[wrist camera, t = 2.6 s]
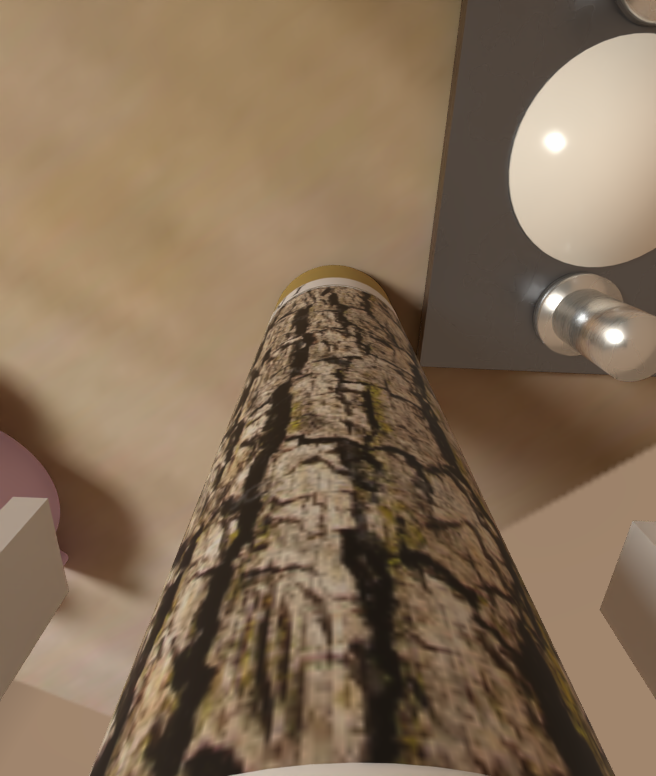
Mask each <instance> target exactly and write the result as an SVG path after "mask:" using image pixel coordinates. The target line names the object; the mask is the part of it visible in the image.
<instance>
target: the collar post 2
mask: <svg viewBox="0 0 656 776" xmlns="http://www.w3.org/2000/svg"><path fill="white" fill-rule="evenodd" d="M615 3H616V5H617V7H618V8H619V10H620V11H621V13H622V14H623V15H624V16H625V17H626V18H627V19H629V20H630V21H632V22H634V23H635V24H638V25H641V26H648V27H649V26H656V0H615Z"/></svg>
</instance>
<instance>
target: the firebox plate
mask: <svg viewBox="0 0 656 776" xmlns="http://www.w3.org/2000/svg"><path fill="white" fill-rule="evenodd" d="M635 33H653V34H656V26H649V27H648V26H641V25H638V24H635V23H634V22H632V21H630V20H629V19H627V18H626V17H625V16H624V15H623V14H622V13H621V11H620V10H619V8H618V7H617V5H616V3H615V0H462V5H461V13H460V20H459V28H458V36H457V44H456V52H455V59H454V67H453V75H452V83H451V90H450V98H449V106H448V114H447V122H446V129H445V137H444V145H443V153H442V161H441V168H440V176H439V184H438V192H437V200H436V207H435V215H434V223H433V231H432V239H431V246H430V254H429V262H428V270H427V278H426V285H425V293H424V301H423V309H422V316H421V324H420V332H419V340H418V348H417V355H416V357H417V359H418V361H419V363H420V365H421V366H425V367H448V368H471V369H494V370H516V371H539V372H562V373H585V374H608V373H606V372H605V371H604V370H602V369H601V368H599V367H598V366H597V365H595V364H594V363H593V362H591V361H590V360H588V359H587V358H586V357H584V356H583V355H578V356H567V355H562V354H559V353H556V352H554V351H553V350H551V349H550V348H549V347H547V346H546V345H545V344H544V343H543V342H542V341H541V340H540V339H539V338H538V336H537V335H536V333H535V330H534V326H533V313H534V308H535V305H536V303H537V301H538V299H539V297H540V295H541V294H542V293H543V291H544V290H545V289H546V288H547V287H548V286H549V285H550V284H552V283H553V282H554V281H556V280H557V279H559V278H561V277H563V276H565V275H568V274H571V273H576V272H589V273H593V274H596V275H599V276H601V277H604V278H606V279H608V280H610V281H611V282H613V283H614V284H615V285H616V286H617V288H618V289H619V291H620V293H621V295H622V298H623V302H624V303H626V304H629V305H631V306H633V307H635V308H638V309H640V310H642V311H644V312H647V313H649V314H651V315H654V316H656V248H655V249H653V250H651V251H649V252H648V253H646V254H644V255H642V256H640V257H637V258H635V259H632V260H630V261H627V262H624V263H620V264H616V265H611V266H605V267H583V266H575V265H572V264H568V263H564V262H562V261H559V260H557V259H555V258H553V257H551V256H549V255H547V254H546V253H544V252H543V251H541V250H540V249H539V248H538V247H537V246H535V245H534V244H533V243H532V242H531V241H530V239H529V238H528V237H527V236H526V235H525V233H524V232H523V230H522V228H521V227H520V225H519V223H518V221H517V219H516V216H515V214H514V212H513V208H512V204H511V200H510V194H509V186H508V169H509V161H510V154H511V150H512V146H513V141H514V138H515V135H516V133H517V130H518V127H519V124H520V122H521V120H522V118H523V116H524V114H525V112H526V110H527V108H528V107H529V105H530V104H531V102H532V100H533V99H534V97H535V96H536V94H537V93H538V92H539V91H540V89H541V88H542V87H543V86H544V84H545V83H546V82H547V81H548V80H549V79H550V78H551V77H552V76H553V75H554V74H555V73H556V72H557V71H558V70H559V69H560V68H561V67H562V66H564V65H565V64H566V63H567V62H568V61H570V60H571V59H572V58H574V57H575V56H577V55H579V54H580V53H582V52H583V51H585V50H587V49H589V48H591V47H593V46H595V45H597V44H599V43H601V42H603V41H606V40H609V39H612V38H615V37H618V36H623V35H629V34H635ZM608 375H609V374H608ZM652 376H654V377H656V373H655V374H653V375H652Z"/></svg>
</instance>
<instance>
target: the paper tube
mask: <svg viewBox="0 0 656 776" xmlns="http://www.w3.org/2000/svg"><path fill="white" fill-rule="evenodd" d="M89 776H615V774H614V772H613V770H612V768H611V766H610V764H609V762H608V760H607V758H606V755H605V753H604V751H603V749H602V747H601V745H600V743H599V741H598V739H597V737H596V734H595V732H594V730H593V728H592V726H591V724H590V722H589V720H588V718H587V715H586V713H585V711H584V709H583V707H582V705H581V703H580V701H579V698H578V696H577V694H576V692H575V690H574V688H573V686H572V684H571V682H570V679H569V677H568V676H567V673H566V671H565V669H564V667H563V665H562V663H561V660H560V658H559V656H558V654H557V652H556V650H555V648H554V646H553V644H552V641H551V639H550V638H549V635H548V633H547V631H546V629H545V627H544V625H543V623H542V620H541V618H540V616H539V614H538V612H537V610H536V608H535V606H534V604H533V601H532V599H531V597H530V595H529V593H528V591H527V589H526V587H525V585H524V583H523V580H522V578H521V576H520V574H519V572H518V570H517V568H516V566H515V563H514V562H513V559H512V557H511V555H510V553H509V551H508V549H507V547H506V544H505V542H504V540H503V538H502V536H501V534H500V532H499V530H498V528H497V525H496V523H495V521H494V519H493V517H492V515H491V513H490V511H489V509H488V507H487V504H486V502H485V500H484V498H483V496H482V494H481V492H480V490H479V488H478V485H477V483H476V481H475V479H474V477H473V475H472V473H471V471H470V469H469V466H468V464H467V462H466V460H465V458H464V456H463V454H462V452H461V450H460V447H459V445H458V443H457V441H456V439H455V437H454V435H453V433H452V431H451V428H450V426H449V424H448V422H447V420H446V418H445V416H444V414H443V412H442V410H441V407H440V405H439V403H438V401H437V399H436V397H435V395H434V393H433V391H432V388H431V386H430V384H429V382H428V380H427V378H426V376H425V374H424V372H423V369H422V367H421V365H420V363H419V361H418V359H417V357H416V355H415V353H414V350H413V348H412V346H411V344H410V342H409V340H408V338H407V336H406V334H405V331H404V329H403V327H402V325H401V323H400V321H399V319H398V317H397V315H396V313H395V311H394V309H393V307H392V305H391V303H390V301H389V299H388V297H387V295H386V293H385V292H384V290H383V289H382V288H381V287H380V285H379V284H378V283H377V282H376V281H375V280H373V279H372V278H371V277H370V276H368V275H366V274H365V273H363V272H361V271H359V270H356V269H354V268H350V267H346V266H340V265H329V266H322V267H318V268H314V269H312V270H309V271H307V272H305V273H303V274H301V275H300V276H299V277H297V278H296V279H295V280H293V281H292V282H291V283H290V284H289V285H288V286H287V288H286V289H285V290H284V292H283V293H282V295H281V297H280V298H279V301H278V303H277V305H276V308H275V310H274V313H273V315H272V317H271V319H270V322H269V324H268V327H267V329H266V332H265V334H264V337H263V339H262V342H261V344H260V347H259V349H258V352H257V354H256V357H255V359H254V362H253V364H252V367H251V369H250V372H249V374H248V377H247V379H246V382H245V384H244V387H243V390H242V392H241V395H240V397H239V400H238V402H237V405H236V407H235V410H234V412H233V415H232V417H231V420H230V422H229V425H228V427H227V430H226V432H225V435H224V437H223V440H222V442H221V445H220V447H219V450H218V452H217V455H216V457H215V460H214V462H213V465H212V467H211V470H210V472H209V475H208V477H207V480H206V482H205V485H204V488H203V490H202V493H201V495H200V498H199V500H198V503H197V505H196V508H195V510H194V513H193V515H192V518H191V520H190V523H189V525H188V528H187V530H186V533H185V535H184V538H183V540H182V543H181V545H180V548H179V550H178V553H177V555H176V558H175V560H174V563H173V565H172V568H171V570H170V573H169V575H168V578H167V581H166V583H165V586H164V588H163V591H162V593H161V596H160V598H159V601H158V603H157V606H156V608H155V611H154V613H153V616H152V618H151V621H150V623H149V626H148V628H147V631H146V633H145V636H144V638H143V641H142V643H141V646H140V648H139V651H138V653H137V656H136V658H135V661H134V663H133V666H132V668H131V671H130V673H129V676H128V679H127V681H126V684H125V686H124V689H123V691H122V694H121V696H120V699H119V701H118V704H117V706H116V709H115V711H114V714H113V716H112V719H111V721H110V724H109V726H108V729H107V731H106V734H105V737H104V739H103V741H102V744H101V747H100V749H99V751H98V754H97V756H96V759H95V762H94V764H93V766H92V769H91V772H90V774H89Z"/></svg>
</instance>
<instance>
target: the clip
mask: <svg viewBox="0 0 656 776" xmlns="http://www.w3.org/2000/svg"><path fill="white" fill-rule="evenodd" d="M12 497H30V498H48V501H49V505H50V509H51V514H52V518H53V523H54V527H55V532H56V531H57V528H58V525H59V520H60V503H59V498H58V494H57V491H56V488H55V486H54V484H53V481H52V480H51V478H50V476H49V474H48V473H47V471H46V470H45V468H44V467H43V466H42V464H41V463H40V462H39V461H38V460H37V459H36V457H35V456H34V455H33V454H32V453H31V452H30V451H28V450H27V449H26V448H25V447H24V446H23V445H21V444H20V443H19V442H17V441H16V440H15V439H13V438H12V437H10V436H9V435H7V434H5V433H4V432H2V431H0V510H1V509H2V508H3V507H4V506H5V505H6V504H7V503H8V502H9V500H10V499H11V498H12ZM60 554H61V558H62V563H63V566H64V565H65V563H66V562H67V560H68V555H67V554H66V553H65V552H63V551H61V550H60Z"/></svg>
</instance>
